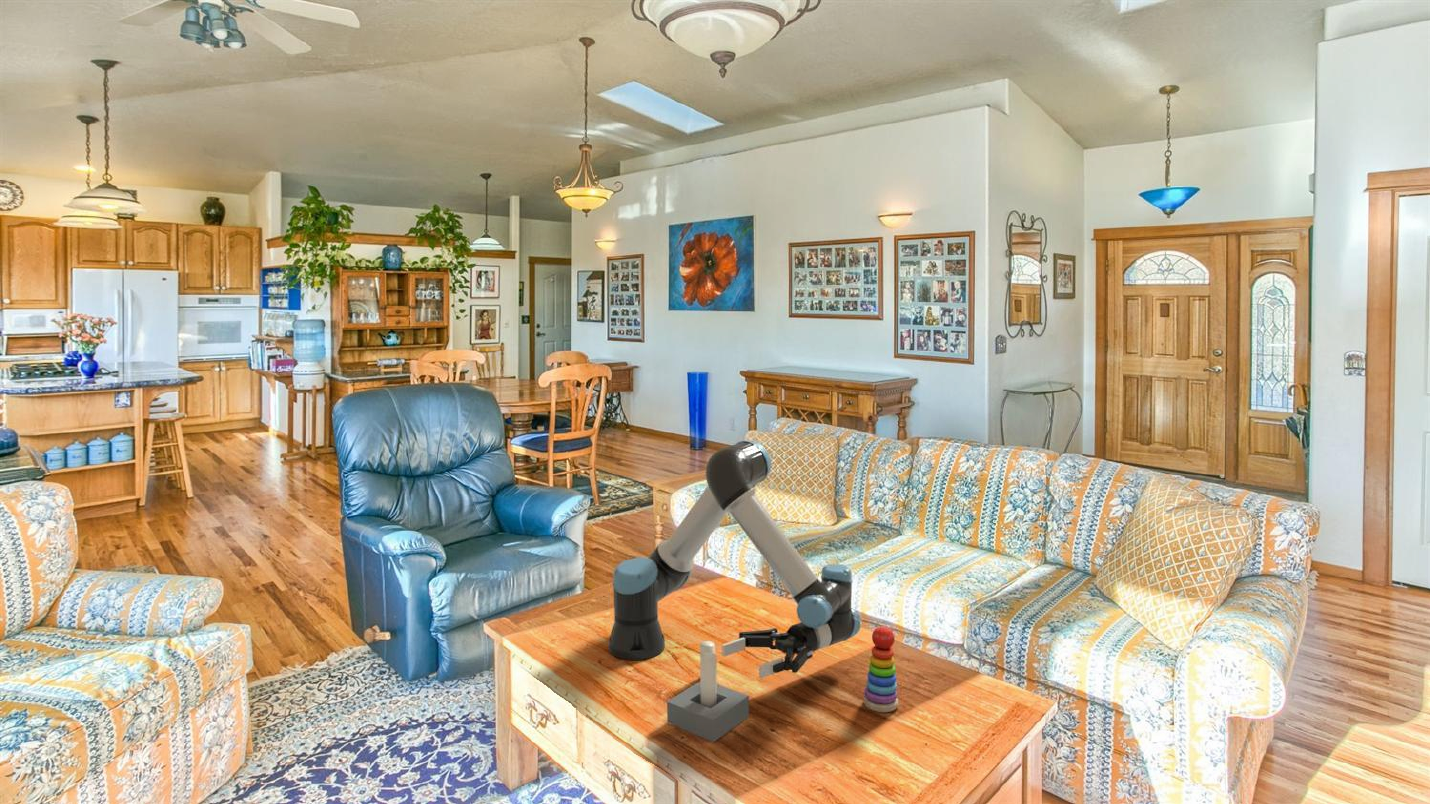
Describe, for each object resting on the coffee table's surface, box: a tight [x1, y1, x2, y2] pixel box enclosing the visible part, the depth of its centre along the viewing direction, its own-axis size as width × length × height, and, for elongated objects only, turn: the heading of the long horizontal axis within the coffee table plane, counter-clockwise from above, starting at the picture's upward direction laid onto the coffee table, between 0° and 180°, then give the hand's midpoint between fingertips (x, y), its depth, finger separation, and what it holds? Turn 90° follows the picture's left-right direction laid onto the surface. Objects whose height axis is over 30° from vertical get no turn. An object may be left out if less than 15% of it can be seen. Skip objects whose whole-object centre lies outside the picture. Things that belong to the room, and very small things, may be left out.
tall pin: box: [699, 653, 718, 708], centre depth 175 cm, size 4×4×15 cm
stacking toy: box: [863, 625, 900, 713], centre depth 181 cm, size 8×8×19 cm
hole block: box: [666, 681, 750, 743], centre depth 176 cm, size 13×13×5 cm
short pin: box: [699, 640, 716, 657], centre depth 195 cm, size 4×4×9 cm
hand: (741, 661), depth 180 cm, fingers open, 13 cm apart
